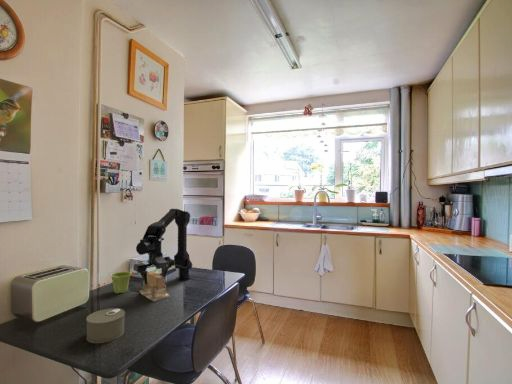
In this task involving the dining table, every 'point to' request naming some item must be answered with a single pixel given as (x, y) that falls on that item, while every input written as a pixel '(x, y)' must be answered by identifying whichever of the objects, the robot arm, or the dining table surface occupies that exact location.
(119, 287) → the plant pot
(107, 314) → the can
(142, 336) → the dining table surface
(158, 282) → the orange tan rectangular block
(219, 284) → the dining table surface
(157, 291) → the tan piece
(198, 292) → the dining table surface
